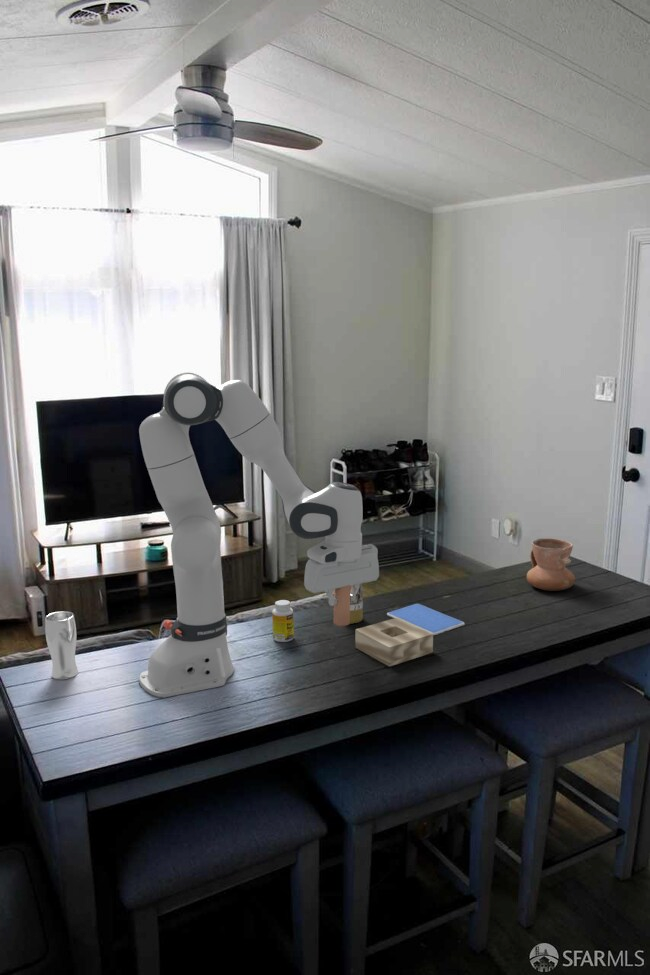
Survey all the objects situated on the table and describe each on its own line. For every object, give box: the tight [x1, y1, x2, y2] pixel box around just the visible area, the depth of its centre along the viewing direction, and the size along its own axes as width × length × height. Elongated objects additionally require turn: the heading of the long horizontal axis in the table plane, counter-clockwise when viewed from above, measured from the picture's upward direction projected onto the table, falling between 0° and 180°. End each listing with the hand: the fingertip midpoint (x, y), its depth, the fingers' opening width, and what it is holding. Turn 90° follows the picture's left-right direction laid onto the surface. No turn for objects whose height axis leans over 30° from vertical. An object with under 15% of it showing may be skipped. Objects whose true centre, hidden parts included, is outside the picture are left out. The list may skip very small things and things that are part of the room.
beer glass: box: [44, 610, 79, 681], centre depth 192 cm, size 7×7×15 cm
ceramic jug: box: [526, 537, 576, 592], centre depth 247 cm, size 18×14×14 cm
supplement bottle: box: [271, 599, 295, 643], centre depth 211 cm, size 6×6×10 cm
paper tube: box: [349, 532, 364, 625], centre depth 221 cm, size 7×7×25 cm
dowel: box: [333, 586, 351, 627], centre depth 196 cm, size 4×4×10 cm
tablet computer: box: [386, 603, 466, 636], centre depth 223 cm, size 19×13×1 cm, turn 37°
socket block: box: [354, 617, 434, 667], centre depth 203 cm, size 14×14×5 cm
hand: (341, 603), depth 196 cm, fingers closed on dowel, 4 cm apart
